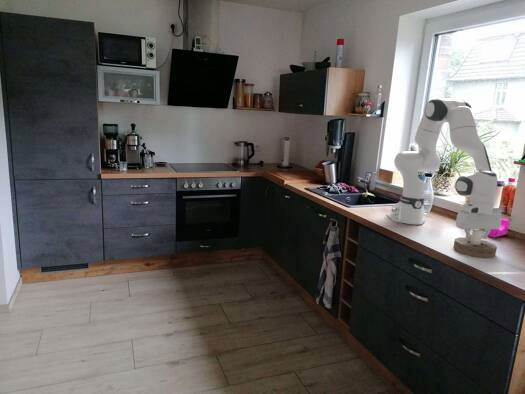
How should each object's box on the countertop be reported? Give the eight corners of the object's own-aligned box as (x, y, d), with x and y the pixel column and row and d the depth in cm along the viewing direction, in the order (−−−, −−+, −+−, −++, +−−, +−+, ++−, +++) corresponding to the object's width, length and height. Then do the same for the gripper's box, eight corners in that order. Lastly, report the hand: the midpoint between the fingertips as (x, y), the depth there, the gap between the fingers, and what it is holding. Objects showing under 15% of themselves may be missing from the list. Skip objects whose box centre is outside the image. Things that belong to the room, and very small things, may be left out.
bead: (446, 245, 180) (447, 237, 180) (476, 245, 184) (477, 237, 183) (470, 258, 165) (472, 249, 164) (503, 257, 168) (505, 248, 167)
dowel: (466, 250, 176) (470, 228, 174) (474, 250, 177) (478, 228, 175) (473, 253, 172) (476, 231, 170) (481, 253, 173) (484, 231, 171)
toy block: (494, 230, 214) (496, 217, 213) (506, 233, 209) (509, 220, 208) (481, 234, 205) (483, 220, 204) (494, 237, 200) (496, 223, 199)
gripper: (496, 206, 176) (490, 236, 178) (456, 205, 171) (451, 236, 174) (507, 209, 170) (501, 240, 172) (466, 209, 165) (461, 240, 168)
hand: (476, 238), depth 173 cm, fingers open, 6 cm apart
